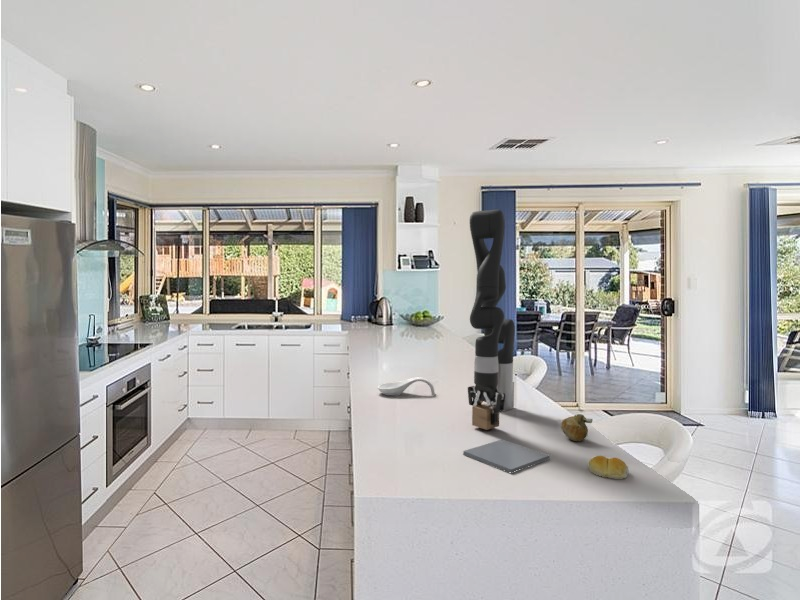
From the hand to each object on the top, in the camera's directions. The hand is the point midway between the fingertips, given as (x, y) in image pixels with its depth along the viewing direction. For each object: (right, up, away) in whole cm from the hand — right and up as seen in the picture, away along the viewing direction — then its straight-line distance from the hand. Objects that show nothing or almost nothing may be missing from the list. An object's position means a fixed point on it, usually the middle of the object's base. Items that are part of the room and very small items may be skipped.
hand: (485, 421), depth 153 cm
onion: (+25, -3, -9) cm, 27 cm away
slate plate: (+1, -3, -25) cm, 25 cm away
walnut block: (0, -1, 0) cm, 1 cm away
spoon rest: (-25, -1, +46) cm, 52 cm away
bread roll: (+24, -4, -34) cm, 42 cm away
